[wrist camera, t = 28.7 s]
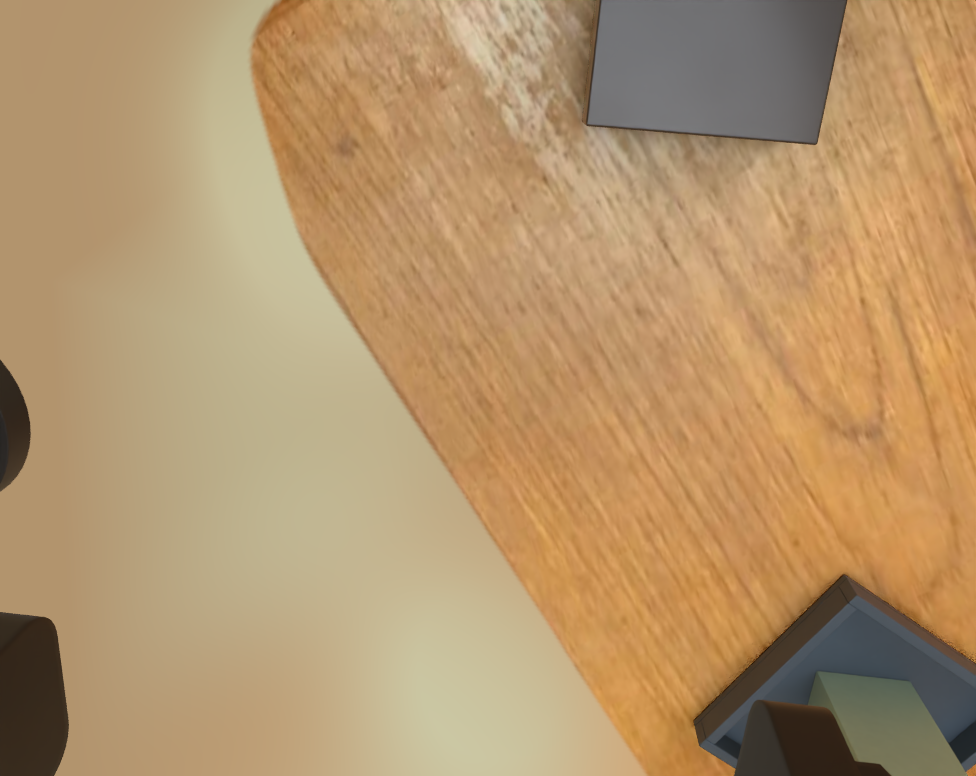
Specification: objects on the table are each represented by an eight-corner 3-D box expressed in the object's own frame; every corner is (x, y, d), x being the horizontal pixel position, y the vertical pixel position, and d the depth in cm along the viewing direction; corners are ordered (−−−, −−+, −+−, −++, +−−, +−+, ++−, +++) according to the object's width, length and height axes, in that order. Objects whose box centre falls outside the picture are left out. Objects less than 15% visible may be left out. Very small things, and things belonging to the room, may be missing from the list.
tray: (855, 823, 48) (867, 851, 46) (693, 721, 46) (698, 746, 44) (1015, 691, 44) (1035, 716, 42) (844, 573, 42) (857, 595, 40)
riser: (789, 139, 35) (817, 145, 31) (581, 122, 35) (585, 125, 32) (824, -41, 33) (860, -59, 29) (601, -58, 33) (608, -77, 29)
